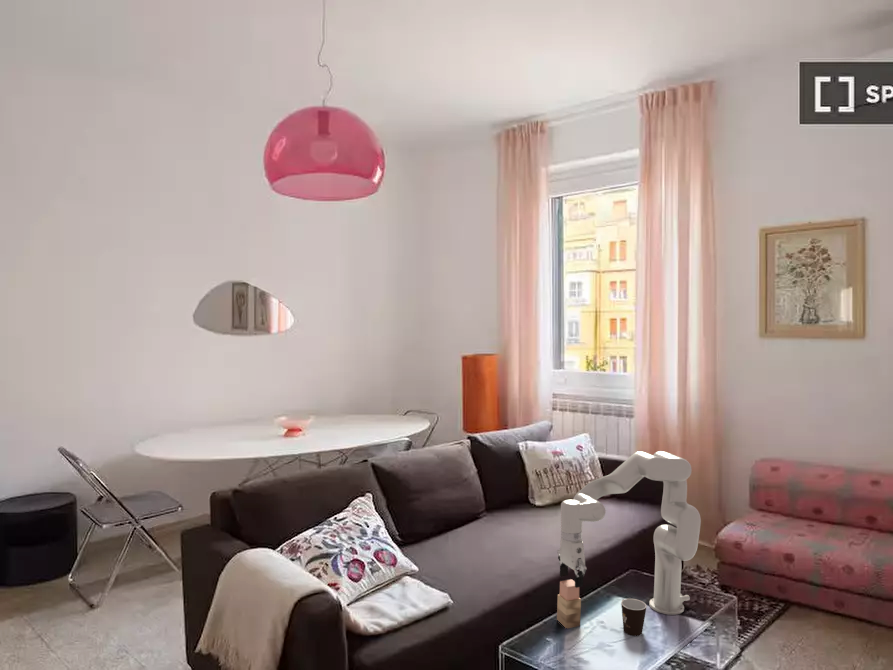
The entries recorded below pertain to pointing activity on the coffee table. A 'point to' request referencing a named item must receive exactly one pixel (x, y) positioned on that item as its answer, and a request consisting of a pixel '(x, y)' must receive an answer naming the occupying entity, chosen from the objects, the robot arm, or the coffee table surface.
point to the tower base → (568, 619)
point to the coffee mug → (633, 616)
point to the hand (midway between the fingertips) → (571, 581)
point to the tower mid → (569, 605)
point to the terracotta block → (569, 590)
